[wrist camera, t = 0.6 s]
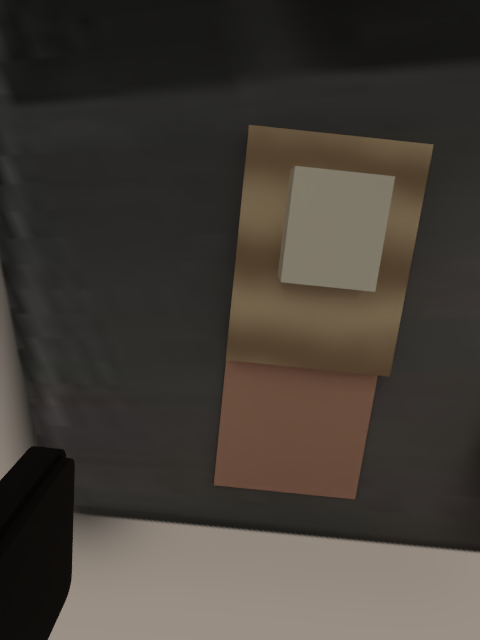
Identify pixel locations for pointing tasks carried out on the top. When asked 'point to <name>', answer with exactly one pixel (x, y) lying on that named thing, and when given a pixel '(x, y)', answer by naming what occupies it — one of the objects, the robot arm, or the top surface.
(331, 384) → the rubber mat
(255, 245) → the oak board
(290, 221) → the cream block
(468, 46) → the top surface
